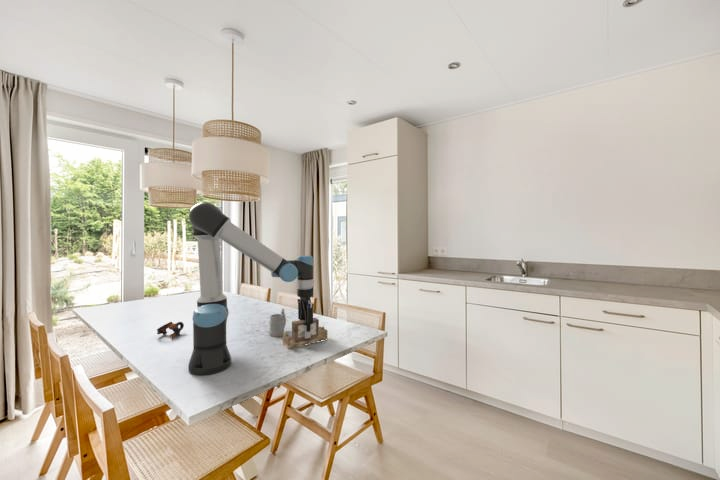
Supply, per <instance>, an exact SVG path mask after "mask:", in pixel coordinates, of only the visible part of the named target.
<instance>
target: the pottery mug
mask: <svg viewBox="0 0 720 480" xmlns="http://www.w3.org/2000/svg"><path fill="white" fill-rule="evenodd" d="M184 327H185V326H184V323H183V322H182V321H178V322H176V323H173V322H172V321H170V322H167V323H165V324H163V325H161V326H160V327H158V328H157V329H156V332H157V333H156V334H157V335H164V336H165V335H167V333H168V331H167V329H168V330H171V331H172V332H173V333H172V334H171V333H170V337H171V340H173V339H175V338H177V337H179V336H181V332H182V330H183V329H184Z"/></svg>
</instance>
